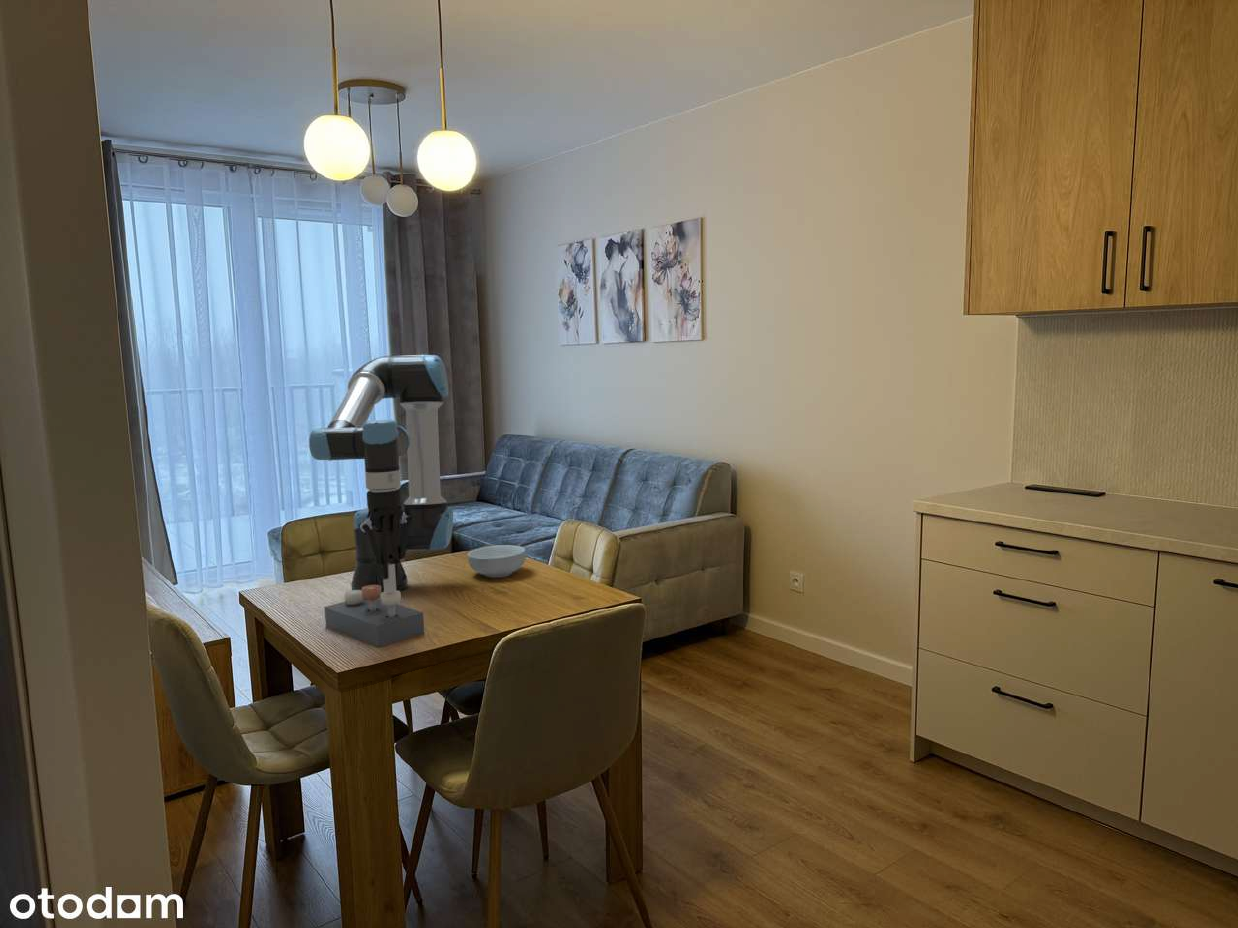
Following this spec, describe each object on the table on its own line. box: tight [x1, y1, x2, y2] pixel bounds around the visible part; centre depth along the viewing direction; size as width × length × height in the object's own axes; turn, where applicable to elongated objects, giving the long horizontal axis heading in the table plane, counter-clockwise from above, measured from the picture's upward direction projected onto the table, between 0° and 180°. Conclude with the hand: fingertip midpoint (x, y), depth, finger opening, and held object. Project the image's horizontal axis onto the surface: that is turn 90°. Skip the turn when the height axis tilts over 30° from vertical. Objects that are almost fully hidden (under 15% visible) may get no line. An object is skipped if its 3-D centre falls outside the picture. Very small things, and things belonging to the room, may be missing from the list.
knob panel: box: [323, 598, 425, 648], centre depth 193 cm, size 12×23×5 cm, turn 48°
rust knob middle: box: [362, 585, 382, 612], centre depth 193 cm, size 4×4×7 cm
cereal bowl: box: [467, 544, 527, 579], centre depth 241 cm, size 17×17×7 cm
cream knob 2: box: [380, 590, 402, 618], centre depth 187 cm, size 4×4×7 cm
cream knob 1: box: [344, 589, 364, 606], centre depth 198 cm, size 4×4×7 cm
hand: (390, 591), depth 187 cm, fingers closed
